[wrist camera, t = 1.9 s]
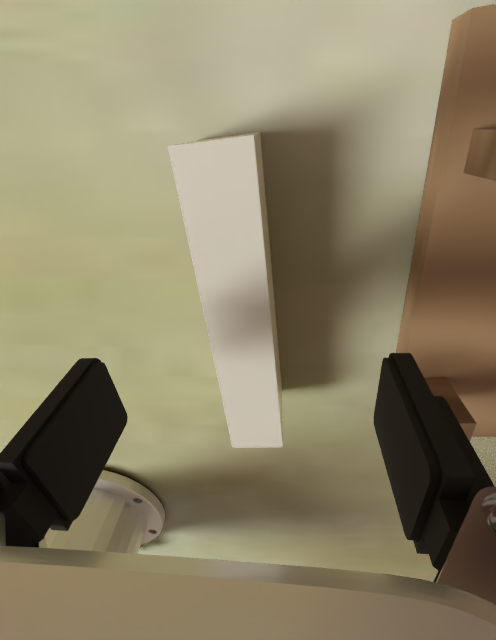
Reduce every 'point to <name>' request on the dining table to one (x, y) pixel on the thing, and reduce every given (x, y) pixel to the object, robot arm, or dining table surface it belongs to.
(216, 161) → the clay strip
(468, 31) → the plank with four pegs
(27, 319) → the dining table surface
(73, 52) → the dining table surface
